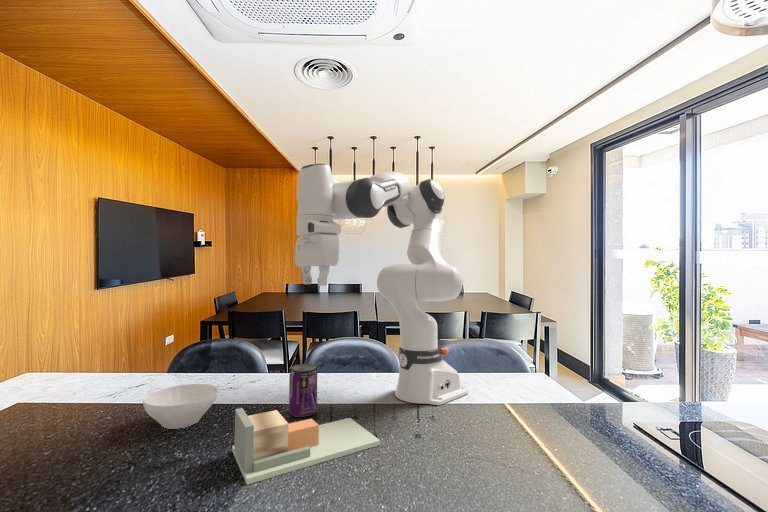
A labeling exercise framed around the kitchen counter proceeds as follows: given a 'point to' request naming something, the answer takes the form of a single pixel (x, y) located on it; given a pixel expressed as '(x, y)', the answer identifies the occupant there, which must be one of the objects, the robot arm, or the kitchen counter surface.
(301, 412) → the beverage can
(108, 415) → the kitchen counter surface
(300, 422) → the rectangular bar
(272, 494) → the kitchen counter surface
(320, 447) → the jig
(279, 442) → the block
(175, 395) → the bowl
